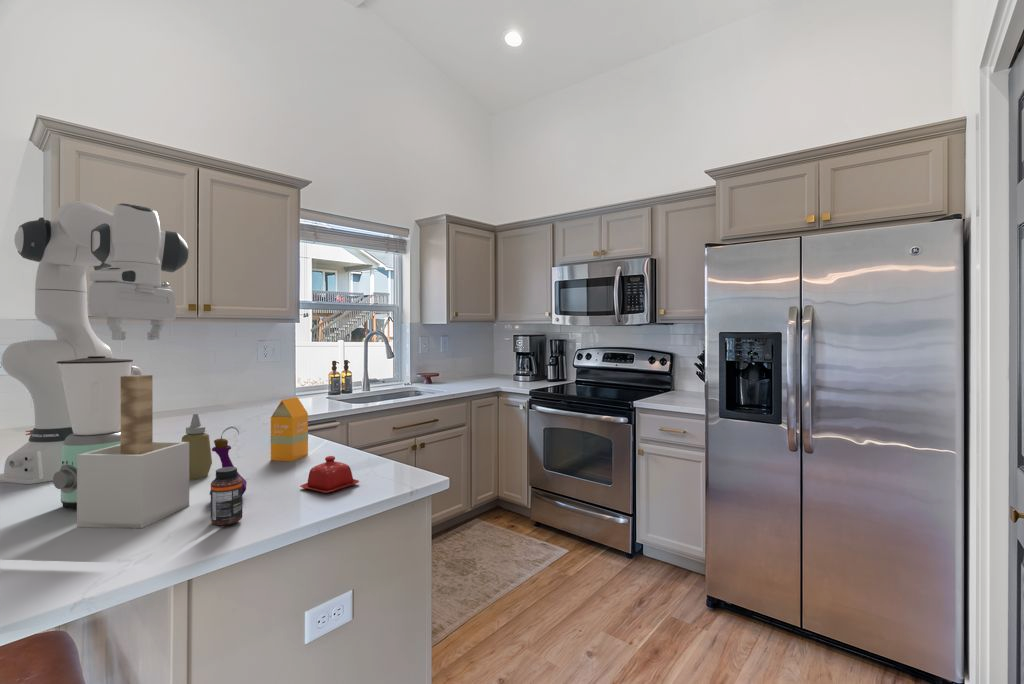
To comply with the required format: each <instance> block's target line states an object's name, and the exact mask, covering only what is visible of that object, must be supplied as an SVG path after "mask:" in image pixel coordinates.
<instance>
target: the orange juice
mask: <svg viewBox="0 0 1024 684" xmlns="http://www.w3.org/2000/svg"><path fill="white" fill-rule="evenodd" d="M307 455H309V413H308V412H307V410H306V409H305V407H304V405H303V403H302V402H301V400H300V399H299V397H298V396H296V397H290V398H287V399H281V401H280V402H279V404H278V406H277V407H276V409H275V410H274V411H273V414H272V415H271V416H270V461H280V462H281V461H283V462H294V461H295V460H296V461H297V460H298V459H300V458H302V457H305V456H307Z"/></svg>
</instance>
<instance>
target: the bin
mask: <svg viewBox="0 0 1024 684" xmlns="http://www.w3.org/2000/svg"><path fill="white" fill-rule="evenodd" d="M189 506H190V480H189V442H181V441H154V440H153V451H152V452H148V453H145V454H141V455H128V454H121V444H119V445H115V446H111V447H107V448H103V449H99V450H95V451H91V452H87V453H83V454H79V455H77V507H76V527H78V528H103V529H104V528H105V529H106V528H109V529H110V528H111V529H113V528H114V529H143V528H145V527H147V526H149V525H152V524H153V523H156V522H158V521H160V520H162V519H164V518H166V517H168V516H171V515H172V514H173V515H174V513H177V512H179V511H181V510H183V509H186V508H188V507H189Z"/></svg>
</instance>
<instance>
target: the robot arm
mask: <svg viewBox="0 0 1024 684" xmlns="http://www.w3.org/2000/svg"><path fill="white" fill-rule="evenodd" d="M55 212H56V213H55V217H54V219H53V220H48V219H45V218H44V217H39V218H38V219H37V220H36V219H35V220H29V221H26V222H24V223H22V224H20V225H19V226H18V228H17V231H16V232H15V234H14V241H13V242H14V245H15V247H16V250H17V253H18V254H19V256H21V257H22V258H23V259H26V260H29V261H33V262H37V263H38V266H37V269H36V275H35V282H34V283H35V285H34V286H35V287H34V297H35V298H34V315H35V317H36V319H37V321H39V322H40V323H42V324H43V325H46V326H48V327H50V328H51V329H52V330H53V332H54V333H55V336H56V339H29V340H24V341H20V342H19V341H17V342H12V343H11V344H9V345H8V346H7V347H6V348H5V350H4V351H3V353H2V355H1V366H2V368H3V370H4V371H5V372H6V373H7V374H8V375H9V376H10V377H12V378H14V379H16V380H17V381H19V382H20V384H22V385H23V386H24V387H25V388H26V389H27V391H28V393H29V394H30V396H31V399H32V402H33V409H34V410H33V411H34V427H33V429H31V430H25V433H26V434H25V436H29V438H28V440H27V441H28V442H26V443H25V444H24V445H21V447H20V448H18V449H17V450H15V451H13V453H10V455H8V456H7V458H6V459H5V461H4V469H3V472H2V473H0V483H1V482H4V483H11V484H13V483H14V484H21V485H33V484H40V483H45V482H53V476H54V474H55V473H56V472H58V471H60V468H61V449H62V444H63V442H64V441H65V439H66V437H68V436H69V435H70V434H73V430H72V426H71V421H70V416H69V412H68V407H67V402H66V397H65V392H64V387H63V382H62V376H61V370H60V368H59V365H58V364H57V362H58V361H66V360H75V359H81V358H88V356H106V357H105V358H114V356H113V355H114V354H113V352H112V349H111V347H109V345H108V344H106V343H105V342H103V341H102V340H101V339H100V338H99V336H98V335H96V332H94V330H93V327H92V325H91V323H90V319H89V314H90V316H92V318H104V319H106V324H107V327H108V328H109V330H110V332H111V338H112V339H111V340H112V341H115V340H116V341H124V340H126V331H123V329H122V326H121V324H122V323H123V322H122V321H123V319H124V320H141V321H142V320H143V321H144V320H145V321H150V325H151V329H150V332H148V331H147V333H146V335H147V340H148V341H159V340H160V338H161V337H160V333H161V332H162V329H163V327H164V326H165V322H168V321H169V322H172V321H175V320H176V318H177V315H178V311H177V302H176V295H175V293H174V288H172V287H171V285H170V284H169V283H168V282H166V281H162V272H165V273H174V272H176V271H178V270H180V269H181V268H183V266H185V265H186V264H187V261H188V259H189V247H188V244H187V242H186V240H185V239H184V238H183V237H182V236H181V235H180V234H179V233H178V232H176V231H170V230H169V231H168V230H161V225H160V224H161V223H160V218H159V214H158V212H157V211H156V210H154V209H153V208H151V207H147V206H142V205H136V204H130V203H118V204H115V206H114V208H113V211H112V212H110V211H109V210H106V209H105V208H102V207H100V206H98V205H96V204H94V203H91V202H88V201H79V200H77V201H76V200H75V201H68V202H66V203H63V204H62V205H60V206H59V207H58V209H57V210H56V211H55ZM89 268H93V269H94V270H92V271H90V272H88V277H89V278H88V279H89V281H91V282H92V283H91V284H90V285H89V287H88V284H87V283H88V282H87V271H88V270H89Z"/></svg>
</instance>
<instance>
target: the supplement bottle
mask: <svg viewBox="0 0 1024 684" xmlns="http://www.w3.org/2000/svg"><path fill="white" fill-rule="evenodd" d="M237 472H238V468H237V467H235V466H234V467H223V468H222V467H220V468H218V469H216V470H215V478H214V479H213V480H212V481H211V482H210V490H211V495H210V523H211V524H212V525H214V526H229V525H232V524H236V523H237V522H239V521H241V520H242V518H243V495H242V479H241V478H240V477H238V475H237Z"/></svg>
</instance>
